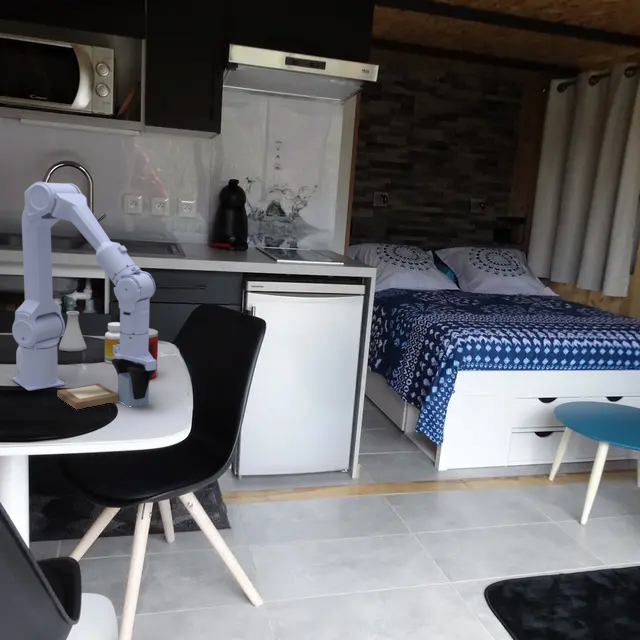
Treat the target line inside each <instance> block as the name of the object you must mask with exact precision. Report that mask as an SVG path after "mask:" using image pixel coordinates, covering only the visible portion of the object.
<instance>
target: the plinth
mask: <svg viewBox="0 0 640 640" xmlns="http://www.w3.org/2000/svg"><path fill="white" fill-rule="evenodd" d="M56 391H57V393H56V394H57V397H59V398H60V399H61V400H60V399H59V398H58V399H59V400H60V401H62V400H63V401H64V402H63V401H62V402H63V403H65V402H66V403H67V404H66V403H65V404H66V405H68V404H69V405H70V406H72V407H73V408H75V409H76V410H75V409H74V410H75V411H78V410H77V409H82V408H86V407H92V406H97V405H102V404H106V403H112V404H114V403H113V402H117V401H119V395H118V393H116V392H114V390H113V391H112V390H111V389H110V388H108V387H106V386H104V385H102V384H101V383H92V384H87V385H81V386H74V387H69V388H63V389H58V390H56ZM117 403H118V402H117ZM69 405H68V406H69ZM70 406H69V407H70ZM102 406H103V405H102ZM72 407H71V408H72ZM97 407H98V406H97ZM73 408H72V409H73ZM92 408H93V407H92ZM82 410H83V409H82Z"/></svg>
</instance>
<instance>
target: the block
mask: <svg viewBox="0 0 640 640" xmlns="http://www.w3.org/2000/svg"><path fill="white" fill-rule="evenodd" d="M117 376H118V377H117V378H118V379H117V382H118V384H117V394H118V395H119V401H120V402H122V403H124V404H125V405H127V406H128V407H129V406H134V407H136V406H135V405H139V406H141V405H140V404H144V405H147V404H146V403H148V404H149V396H150V395H149V394H150V393H149V389H150V387H149V385H150V384H149V385H148V388H147V391H146V395H145V398H142V399H137V400H136V399H134V396H133V388H132V380H131V377H130V374H129V372H127V373H121V374H117ZM120 402H119V403H120ZM122 403H121V404H122ZM125 405H124V406H125ZM127 406H126V407H127ZM128 407H127V408H128ZM129 408H130V407H129Z"/></svg>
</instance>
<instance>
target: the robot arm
mask: <svg viewBox="0 0 640 640" xmlns="http://www.w3.org/2000/svg"><path fill="white" fill-rule="evenodd" d="M59 220H62V221H63V220H64V221H68V222H70V223H72V224H73V226H75V228H76V229H77V230H78V231H79V233H80V234H82V236H83V237H84V238H85V239H86V241H87V242H88V243H89V244H90V245H91V247H92V248H93V249H94V250H95V261H96V262H97V264H99V266H100V267H101V268H102V270H103V271H104V272H105V274H106V276H107V277H108V278H109V279H110V280H111V282H112V283H113V285H114V286H115V287H113V292H114V293H113V294H114V296H115V297H116V299H117V301H118V308H119V323H120V344H118V345H113V354H114V357H115V358H117V359H112V364H111V365H113V367H114V369H115V371H116V373H117V375H118V374H121V373H127V372H129V374H130V377H131V380H132V388H133V396H134V399H136V400H137V399H142V398H145V395H146V391H147V388H148V385H150V383H151V382H150V381H151V380H150V379H151V377H152V376H153V374H154V372H155V371H156V363H157V364H158V360H157V361H156V360H155V359H153V357H152V356H151V354H150V353H149V352H148V345H149V328H150V298H153V296H154V294H155V292H156V283H155V280H154V278H153V276H152V274H150V273H149V272H148V271H143V270H141V267H140V266H138V265H136V263H135V262H134V260H133V259H132V258H131V257H130V256H129V254H128V253H127V251H128V249H127V248H126V247H125V245H121V244H120V242H115V241H111V240H110V237H108V235H107V233H106V232H105V231H104V229H103V228H102V225H101V224H100V222H99V221H98V220H97V218H96V217H95V214H94V213H93V212H92V211H91V209H90V207H89V206H88V200H87V196H85V195H84V194H83V193H82V191H81V190H80V188H79V187H78V185H76V184H74V183H71V182H64V183H63V182H61V183H60V182H58V183H57V182H44V181H36V182H34V183H32V184H31V185H30V186H29V187H28V188H27V189H25V190H24V207H23V211H22V215H21V235H22V238H21V239H22V255H23V256H22V261H23V285H24V286H23V289H24V301H23V302H22V304H21V305H20V306H19V307H18V308H17V309H16V310H15V312H14V321H13V323H12V328H11V332H12V336H13V339H14V340H15V342H16V343H17V344H18V347H17V349H16V351H15V352H16V376H13V377H12V378H11V379H12V380H13V382H15V383H16V384H18V385H20V387H22V388H24V389H25V390H27V391H36V390H41V389H47V388H53V387H59V386H65V385H66V383H65V381H63V380H61V379H60V378H58V343H60V338H61V337H63V335H64V332H65V329H66V324H65V323H66V322H65V320H64V318H63V316H62V308H61V306H60V305H59V304H58V303H57V302H55V301H54V297H53V296H54V294H53V291H54V290H53V289H54V288H53V269H52V268H53V265H52V264H53V262H52V261H53V259H52V233H51V228H52V227H53V226H54V225H56V223H58V222H59Z"/></svg>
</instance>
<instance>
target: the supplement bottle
mask: <svg viewBox="0 0 640 640" xmlns="http://www.w3.org/2000/svg"><path fill="white" fill-rule="evenodd" d="M107 330H108V331H107V332H105V335H104V362H106V364H111V365H113V364H112V359H117V358H115V357H114V354H113V345H118V344H120V321H119V322H118V321H116V322H115V321H114V322H113V321H112V322H108V323H107Z"/></svg>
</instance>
